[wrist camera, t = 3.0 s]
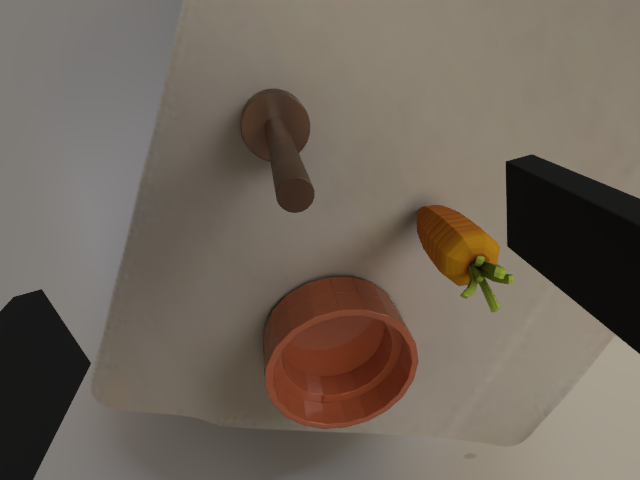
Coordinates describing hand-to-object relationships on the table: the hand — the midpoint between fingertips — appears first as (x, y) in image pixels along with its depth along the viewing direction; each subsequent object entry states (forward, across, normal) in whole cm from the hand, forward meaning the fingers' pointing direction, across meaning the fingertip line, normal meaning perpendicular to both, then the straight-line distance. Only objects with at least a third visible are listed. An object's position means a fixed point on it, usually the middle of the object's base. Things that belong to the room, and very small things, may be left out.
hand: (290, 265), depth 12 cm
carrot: (+27, +12, -13) cm, 32 cm away
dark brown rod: (+26, +1, -1) cm, 26 cm away
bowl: (+26, 0, -25) cm, 36 cm away
